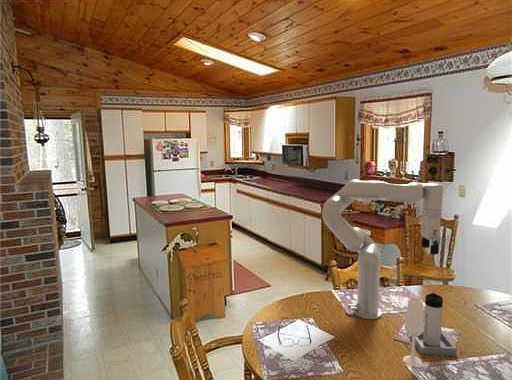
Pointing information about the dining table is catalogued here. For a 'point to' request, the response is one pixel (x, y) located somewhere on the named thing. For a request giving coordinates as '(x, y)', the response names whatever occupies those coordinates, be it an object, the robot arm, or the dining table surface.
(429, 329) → the travel mug
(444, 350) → the tray
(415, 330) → the champagne flute
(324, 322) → the dining table surface
